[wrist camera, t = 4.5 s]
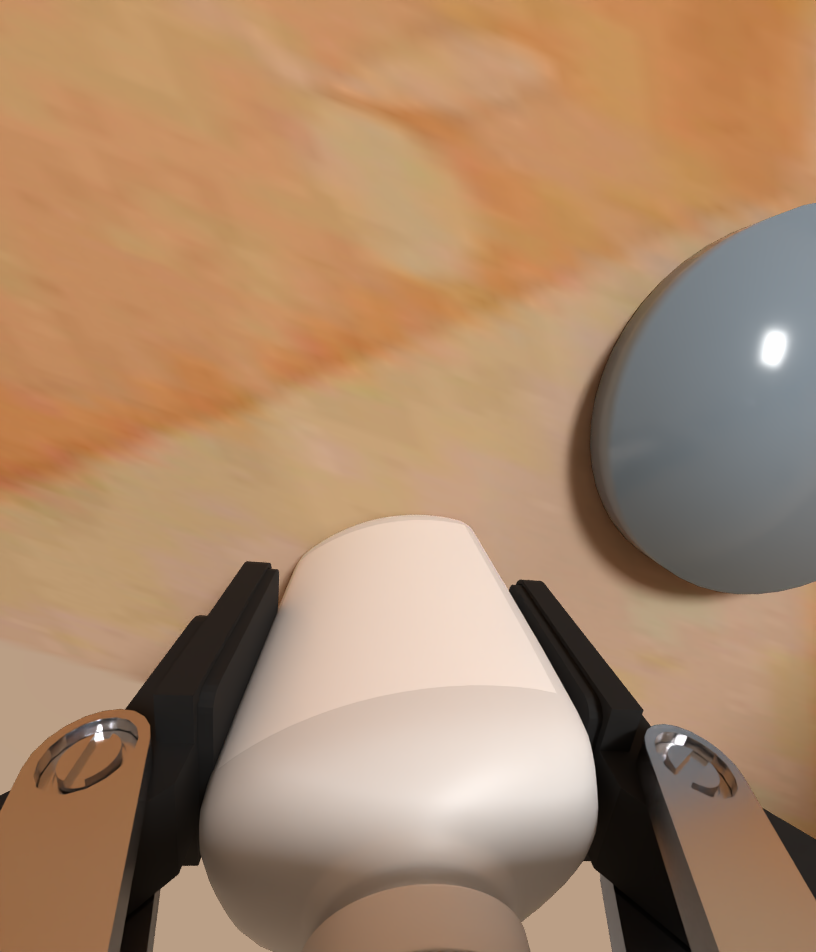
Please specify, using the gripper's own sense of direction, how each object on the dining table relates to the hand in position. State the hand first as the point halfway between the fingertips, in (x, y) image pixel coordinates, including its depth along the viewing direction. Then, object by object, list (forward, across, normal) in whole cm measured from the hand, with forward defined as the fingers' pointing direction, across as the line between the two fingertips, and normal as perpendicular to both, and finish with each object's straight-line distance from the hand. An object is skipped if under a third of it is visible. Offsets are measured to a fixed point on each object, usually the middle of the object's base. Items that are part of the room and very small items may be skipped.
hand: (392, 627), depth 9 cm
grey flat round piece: (+3, -11, -6) cm, 13 cm away
